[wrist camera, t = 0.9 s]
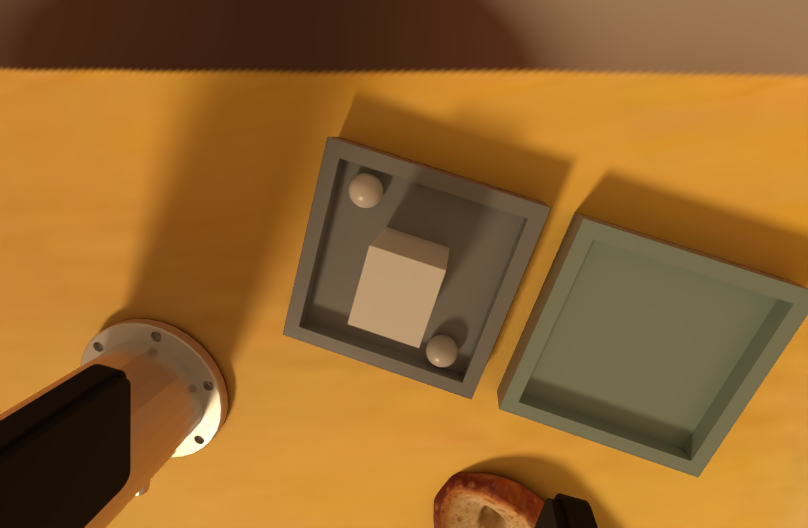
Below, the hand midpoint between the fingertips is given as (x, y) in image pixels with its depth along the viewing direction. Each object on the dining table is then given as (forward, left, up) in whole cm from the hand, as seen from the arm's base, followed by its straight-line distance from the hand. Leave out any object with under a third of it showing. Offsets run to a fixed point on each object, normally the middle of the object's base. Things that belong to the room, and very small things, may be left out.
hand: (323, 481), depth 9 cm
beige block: (-2, 0, -20) cm, 20 cm away
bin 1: (-2, 0, -21) cm, 21 cm away
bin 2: (-2, -16, -21) cm, 26 cm away
